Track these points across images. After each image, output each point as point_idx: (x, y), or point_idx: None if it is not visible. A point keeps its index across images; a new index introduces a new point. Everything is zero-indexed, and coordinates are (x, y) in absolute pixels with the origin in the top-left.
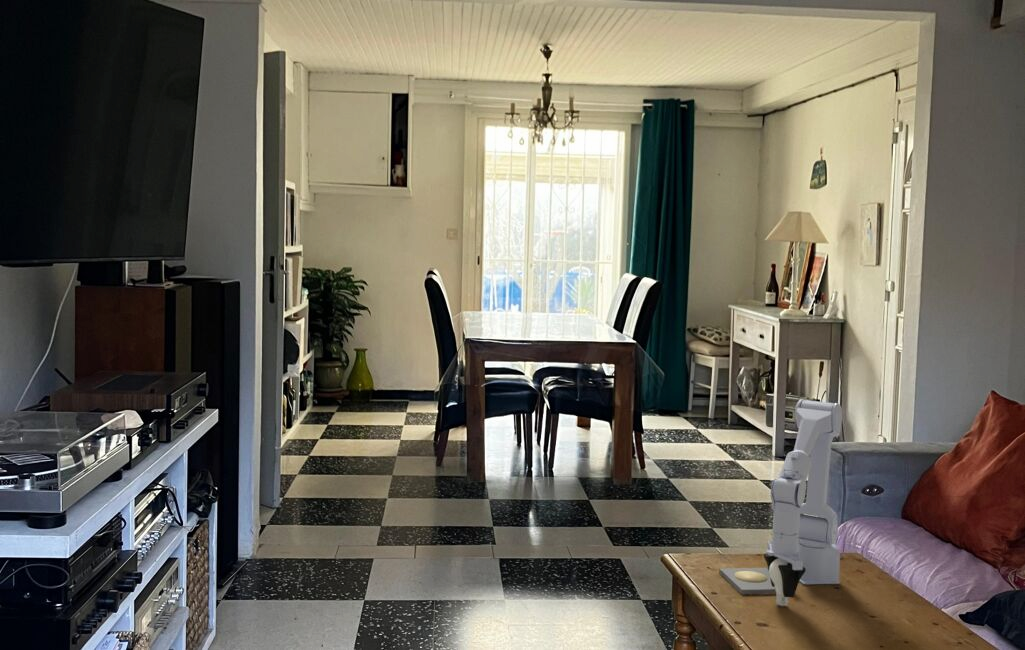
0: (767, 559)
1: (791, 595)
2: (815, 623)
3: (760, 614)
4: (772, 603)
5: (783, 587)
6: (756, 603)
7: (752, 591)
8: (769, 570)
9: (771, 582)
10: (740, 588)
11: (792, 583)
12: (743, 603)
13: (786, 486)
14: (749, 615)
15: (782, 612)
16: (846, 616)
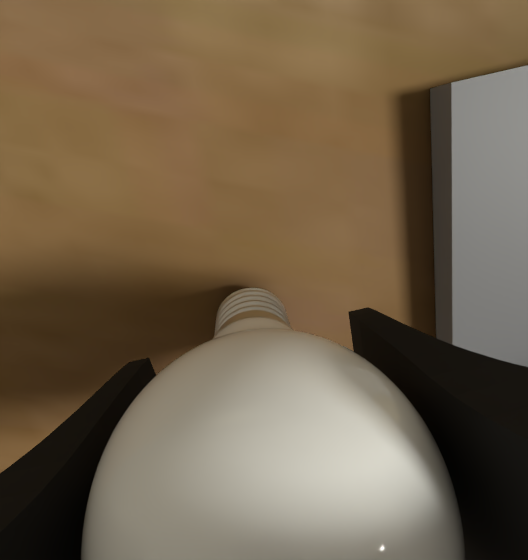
0: (525, 439)
1: None
2: (37, 428)
3: (70, 160)
4: (290, 269)
5: (101, 399)
6: (276, 169)
7: (443, 170)
8: (260, 366)
9: (368, 315)
10: (480, 76)
11: None
12: (263, 69)
13: None
14: (19, 69)
15: (151, 301)
16: None
